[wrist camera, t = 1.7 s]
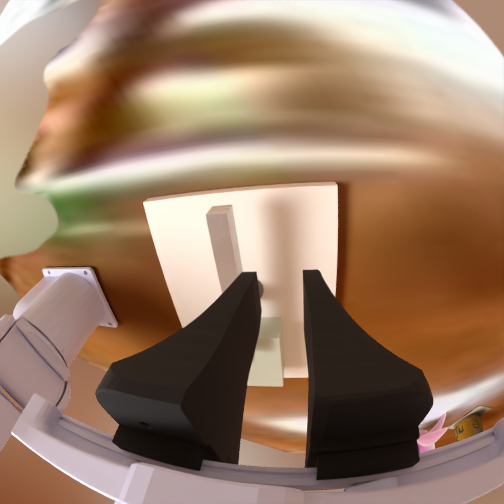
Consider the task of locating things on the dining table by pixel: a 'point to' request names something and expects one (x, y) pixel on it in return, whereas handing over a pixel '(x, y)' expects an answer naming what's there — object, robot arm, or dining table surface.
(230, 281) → the t key
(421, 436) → the lily
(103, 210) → the dining table surface
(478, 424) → the condiment
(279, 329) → the cover
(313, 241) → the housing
